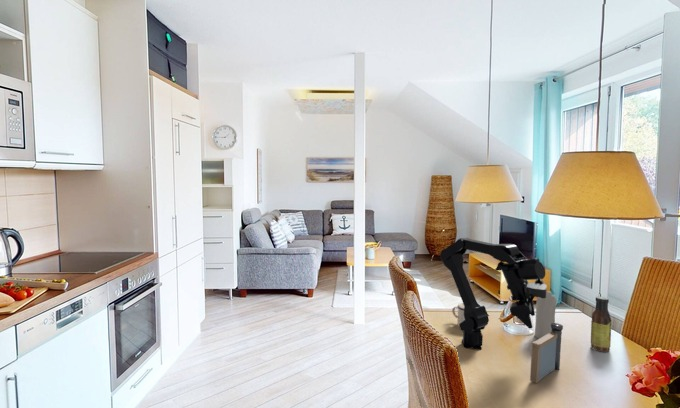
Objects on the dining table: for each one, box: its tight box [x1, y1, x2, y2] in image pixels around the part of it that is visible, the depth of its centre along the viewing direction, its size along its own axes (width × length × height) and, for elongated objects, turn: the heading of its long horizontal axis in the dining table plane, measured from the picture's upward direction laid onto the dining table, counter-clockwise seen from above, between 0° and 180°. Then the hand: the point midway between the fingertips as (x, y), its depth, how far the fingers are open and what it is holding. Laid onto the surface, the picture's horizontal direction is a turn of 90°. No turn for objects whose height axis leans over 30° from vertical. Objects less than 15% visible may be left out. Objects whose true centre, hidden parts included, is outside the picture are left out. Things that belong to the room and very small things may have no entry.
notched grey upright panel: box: [534, 290, 558, 340], centre depth 153 cm, size 7×14×20 cm, turn 124°
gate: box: [529, 332, 557, 384], centre depth 121 cm, size 14×2×12 cm, turn 129°
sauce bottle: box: [590, 296, 612, 353], centre depth 141 cm, size 6×6×20 cm
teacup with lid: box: [451, 302, 465, 328], centre depth 162 cm, size 12×9×12 cm
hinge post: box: [551, 322, 564, 371], centre depth 126 cm, size 4×4×15 cm
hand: (532, 321), depth 128 cm, fingers open, 9 cm apart
